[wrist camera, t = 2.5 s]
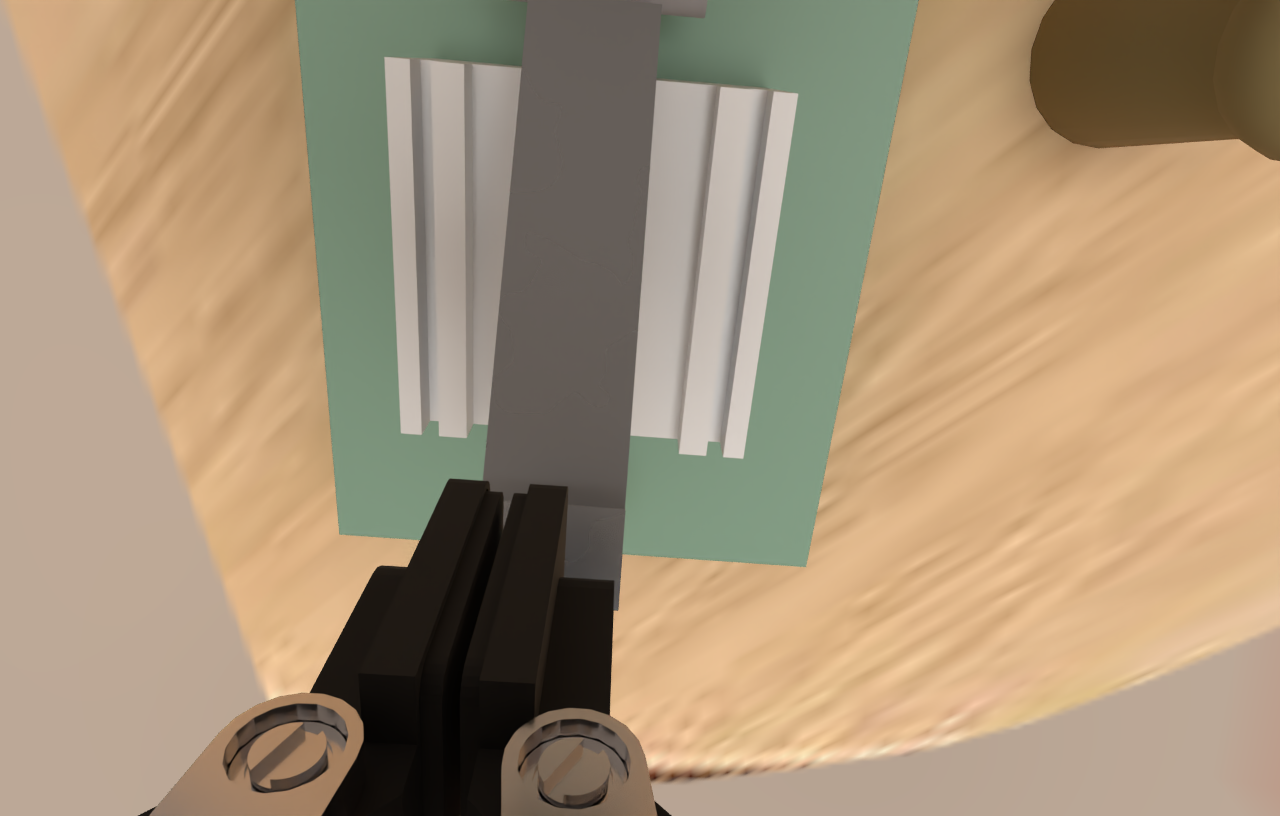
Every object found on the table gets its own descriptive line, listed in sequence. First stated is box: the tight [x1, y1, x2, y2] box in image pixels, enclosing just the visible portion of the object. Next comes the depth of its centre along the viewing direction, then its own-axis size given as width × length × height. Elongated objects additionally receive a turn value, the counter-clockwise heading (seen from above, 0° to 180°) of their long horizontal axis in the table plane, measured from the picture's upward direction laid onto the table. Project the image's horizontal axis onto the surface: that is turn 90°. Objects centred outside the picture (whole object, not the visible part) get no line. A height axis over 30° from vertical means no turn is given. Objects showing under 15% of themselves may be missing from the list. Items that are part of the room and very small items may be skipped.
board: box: [295, 0, 919, 567], centre depth 24 cm, size 24×18×8 cm
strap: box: [483, 0, 662, 611], centre depth 17 cm, size 13×3×2 cm
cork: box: [1030, 0, 1280, 161], centre depth 21 cm, size 6×6×11 cm
